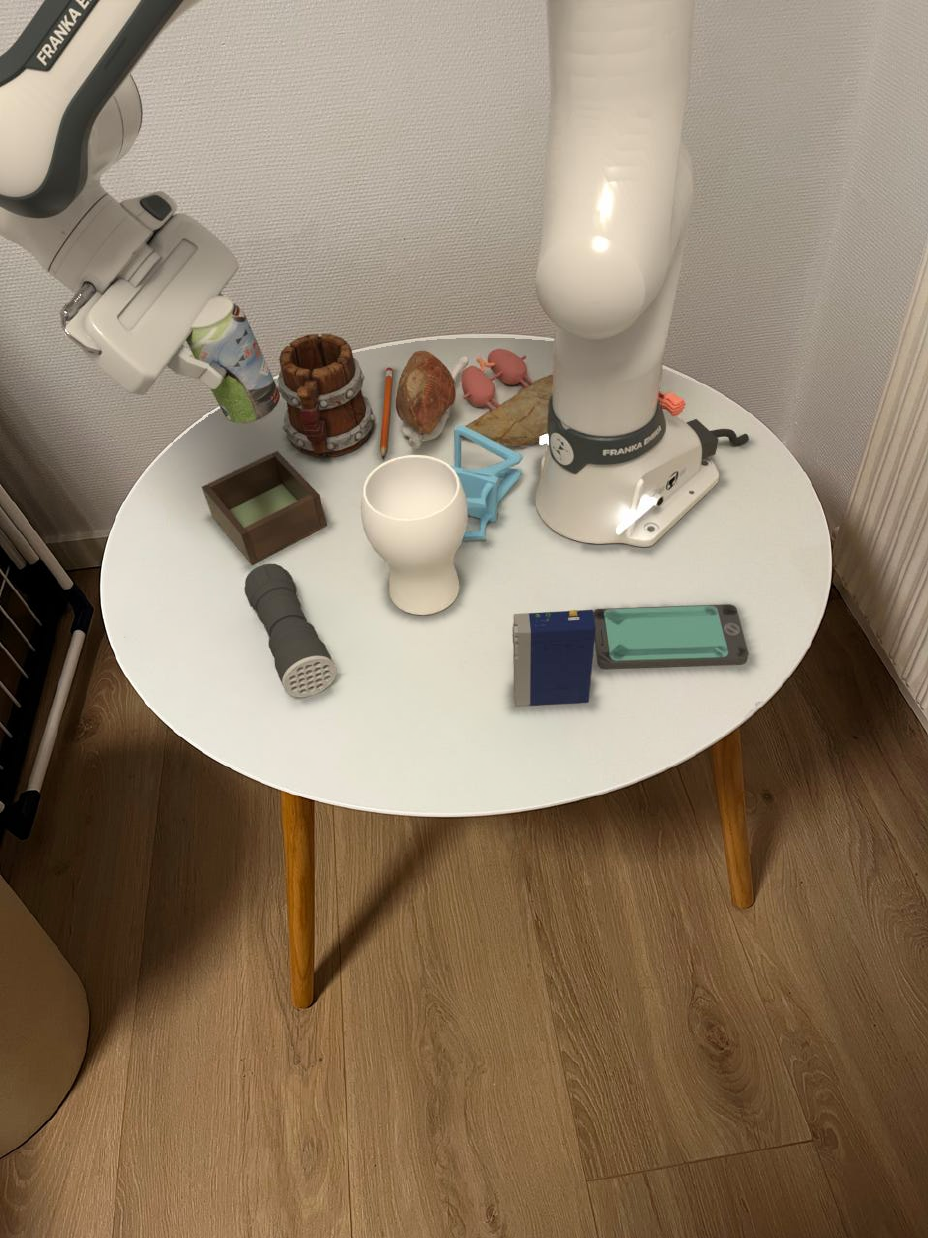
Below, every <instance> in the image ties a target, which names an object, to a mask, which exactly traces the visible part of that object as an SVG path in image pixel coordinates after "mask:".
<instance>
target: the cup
mask: <svg viewBox="0 0 928 1238" xmlns="http://www.w3.org/2000/svg"><path fill="white" fill-rule="evenodd" d="M449 465H450V464H449V463H447V462H446V461H443V460H442V459H439V458H437V457H433V456H430V455H423V454H410V455H409V454H408V455H401V456H398V457H394V458H391V459H389V460H387V461H385V462H382V463H381V464H379V465H378V466H376V468H374V469H373V470H371V472H370V473H369V474H368V476H367V477H366V478H365V481H364V483H363V487H362V492H361V501H360V516H361V518H360V519H361V522H362V523H361V524H362V527H363V531H364V534H365V536H366V538H367V540H368V542H369V544H370V545H371V547H372V549H374V551H375V553H376V554H377V555H378V556H379V557H380V558H381V559H382V560H383V561H384V562H385V563H386V564H387V565H388V568H389V578H388V587H389V588H388V590H389V591H388V592H389V596H390V600H391V601H392V603H393V604H394V605H395V606H396V607H397V608H398V609H400V610H401V611H403V612H405V613H408V614H411V615H418V616H425V615H426V616H427V615H433V614H435V613H439V612H441V611H443V610H445V609H447V608H448V607H450V605H452V604H453V603H454V602H455V600H456V599H457V597H458V595H459V592H460V588H461V587H460V580H459V576H458V572H457V569H456V567H455V564H454V560H455V559H454V557H455V554H456V553H457V551H458V549H459V547H460V546H461V545H462V543H463V541H462V539H463V536H464V533H465V532H466V530H467V525H468V521H469V515H468V511H467V500H466V495H465V492H464V489H463V487H462V484H461V482H460V479H459V477H458V475H457V474H456V472H455V470H454V469H453V468H452V467H451V466H452V465H451V466H449Z"/></svg>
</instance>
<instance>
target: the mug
mask: <svg viewBox="0 0 928 1238" xmlns="http://www.w3.org/2000/svg"><path fill="white" fill-rule="evenodd" d="M278 360H279V365H280V371H279V374H278V378H277V383H278V385H277V388H278V391H279V393H280V397H281V398H282V399H283V400H284V401H285V402H286V410H285V414H284V418H283V423H284V425H283V426H282V431H283V432H284V433H286V436H287V439H288V440H290V441H291V443H293V444H294V446H295V447H296V449H298V450H299V451H300V452H303V453H305V454H307V455H309V456H311V457H319V458H321V457H322V458H324V457H325V456H326V455H327V457H329V458H331V457H338V456H342V455H344V454H348V453H351V452H352V451H355V450H356V449H358V448H359V447H360V446H361V445H363V442H364V443H365V442H366V441H367V439H368V438H369V437H370V435H371V431H372V429H373V425H374V421H375V420H376V416H375V414H374V412H373V409H372V406H371V404H370V401H369V399H368V397H366V396H364V394H363V391H362V388H363V384H364V380H365V378H366V377H365V374H364V373H363V371H362V368H361V366H360V363H359V361H358V360H357V359H356V358H355V357H354V354H353V350H352V347H351V345H350V344H349V343H348V341H346V340H345V339H344V338H343V337H341V336H337V335H334V334H331V333H322V334H321V335H320V334H318V333H314V334H313V333H312V334H307V335H306V334H305V335H304V336H301V337H297V338H295V339H294V340H292V341H291V342H289V345H286V346H285V347H284V348H283V349H282V350H281V352H280V355H279V358H278Z"/></svg>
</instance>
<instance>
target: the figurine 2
mask: <svg viewBox="0 0 928 1238" xmlns="http://www.w3.org/2000/svg"><path fill="white" fill-rule="evenodd" d="M526 358H527V355H523V356H519V355H517V354H516V353H514V352H513V351H510V350H508V349H503V348H496V349H493V350H491V352H489V353H488V355H487V361H486V360H484V359H483V358H482V356H478V357H477V359H476V362H477V363H478V364H479V366H480V367H478V366H476V365H470V366H466V367H465V368H464V369H463V370H462V374H461V379H460V380H461V382H460V383H461V389H462V391H463V394H464V396H463V397H462V398H463V400H466V399H467V400H469V402H470V404H471V405H473V406H475V407H479V408H483V407H486V406H487V407H488V408H489V409H490V411H492V410H494V409H496V408H498V407H499V405H501V404H500V402H498V401H497V400H496V398H495V396H496V386H495V383H494V382H493V381H494V380H496V379H497V378H498V379H499V380H500V381H501V382H503V383H504V384H506V385H517V384H520V383H521V384H522V386H523V388H526V387H528V386H529V385H531V384H532V383H534V381H533V380H531V378H529V376H528V367H527V364H526V362H525V361H524V360H525V359H526ZM488 368H490V370H492V372H493V373H494V374H495V375H493V376H492V377H489V376H487V375H486V373H485V372H486V370H487V369H488ZM525 380H526V381H527V382H528V383H529V384H527V383H526V381H525ZM492 403H494V405H495V406H496V407H495V406H494V405H493V404H492Z"/></svg>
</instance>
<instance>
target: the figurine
mask: <svg viewBox="0 0 928 1238" xmlns="http://www.w3.org/2000/svg"><path fill="white" fill-rule="evenodd" d="M469 359H470V358H468V357H467V356H462V357H460V358H459V359H458V361H457V362H456V364H455V365H454V366H453V367H452V368H451V370H450V371H451V372H450V373H451V375H452V378H453V380H454V384H457V381H458V376H459V375H460V374H461V372H463V371H464V370H465V369H466V368H467V367H468V365H469V363H470V360H469ZM450 415H451V413H450V407H449V408H448V409H447V411H446V412H445V413H444V414H443V415H442V417H441V419H440V421H439V423H438V425H437V426H436V428H435V429H434V430H433V431H432V432H431V434H430V435H429V434H425V435H420V433H419V431H418V430H417V429H415V428H413V427H412V426H411V425H409V424H408V423H406V422H404V421H403V420H402V427H401V433H402V434H403V435H404V436H405V437H407V438H408V439H407V444H408V447H409V448H411V449H416V450H417V449H419V448H421V446H422V443H423V441H424V442H425V441H432V440H434V439H436V438H438V437H439V436H440V435H441V433H442V432H443V431H444V430H445V429H444V427H445V425H446V422H447V420H448V419H450V417H451V416H450Z"/></svg>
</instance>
